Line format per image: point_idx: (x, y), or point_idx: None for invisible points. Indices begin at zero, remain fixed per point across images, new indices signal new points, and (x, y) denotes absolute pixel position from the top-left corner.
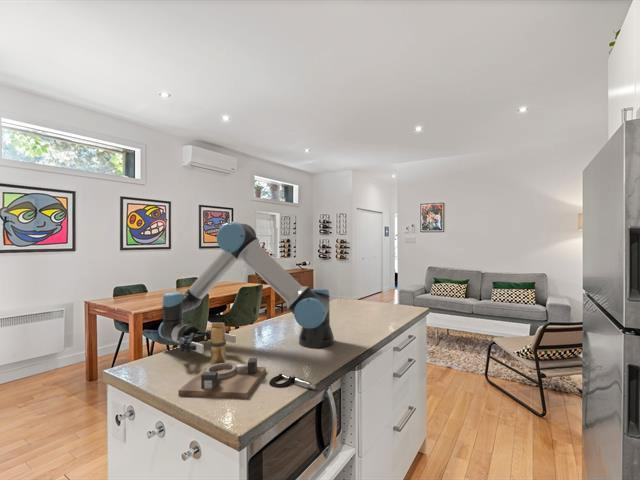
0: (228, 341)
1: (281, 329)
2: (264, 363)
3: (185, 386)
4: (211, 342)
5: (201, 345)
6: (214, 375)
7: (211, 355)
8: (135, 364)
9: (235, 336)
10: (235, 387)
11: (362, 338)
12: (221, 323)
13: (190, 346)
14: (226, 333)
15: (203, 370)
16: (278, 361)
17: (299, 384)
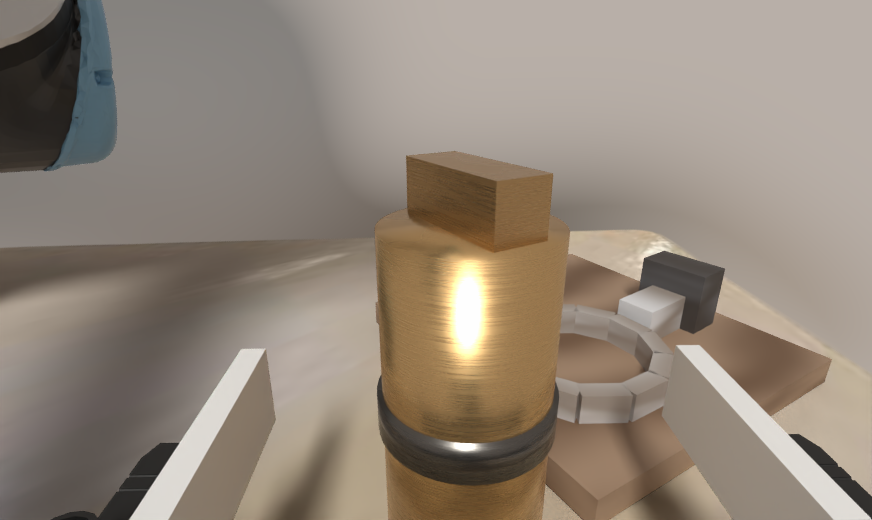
0: (240, 497)
1: None
2: (281, 370)
3: (794, 365)
4: (554, 388)
5: (700, 347)
6: (666, 253)
7: (542, 510)
8: None
9: (248, 356)
10: (584, 277)
11: None
12: (456, 154)
13: (847, 483)
14: (156, 484)
15: (663, 450)
16: (225, 346)
17: None
